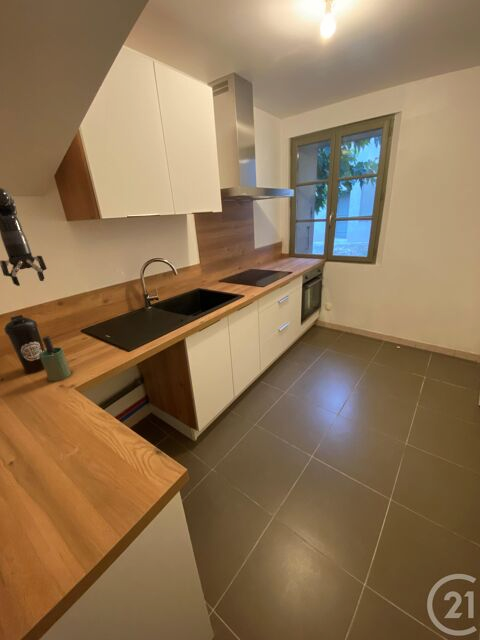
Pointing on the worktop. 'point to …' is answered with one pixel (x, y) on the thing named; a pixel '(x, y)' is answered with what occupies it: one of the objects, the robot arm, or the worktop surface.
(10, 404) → the worktop surface
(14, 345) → the water bottle
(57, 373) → the cup
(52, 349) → the brush
